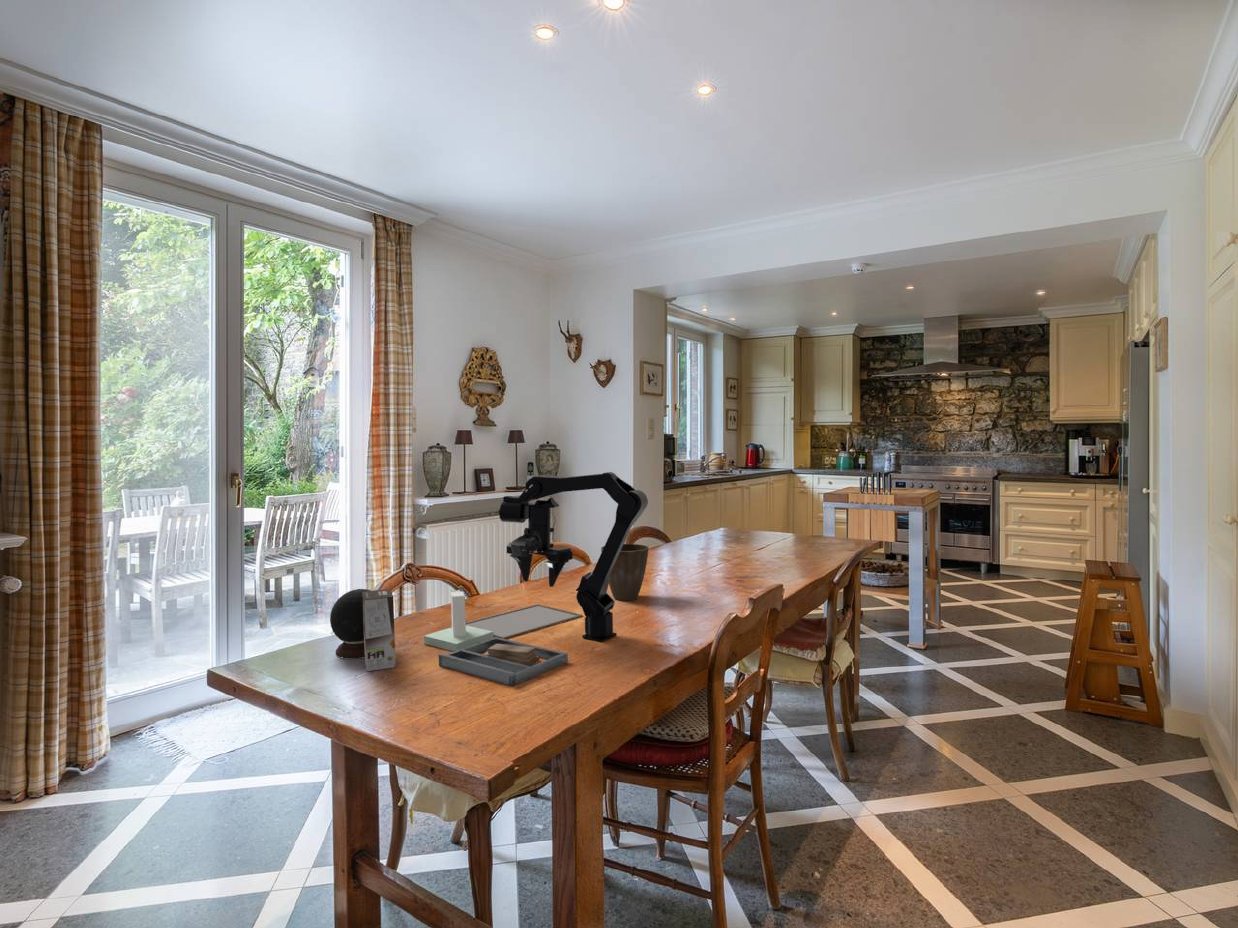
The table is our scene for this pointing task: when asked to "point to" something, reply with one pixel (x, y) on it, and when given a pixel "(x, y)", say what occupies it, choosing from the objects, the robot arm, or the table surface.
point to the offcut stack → (513, 653)
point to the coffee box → (379, 629)
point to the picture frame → (522, 620)
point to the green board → (457, 638)
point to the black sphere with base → (349, 624)
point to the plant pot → (628, 572)
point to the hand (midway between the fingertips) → (538, 583)
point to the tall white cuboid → (458, 614)
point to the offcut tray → (500, 662)
